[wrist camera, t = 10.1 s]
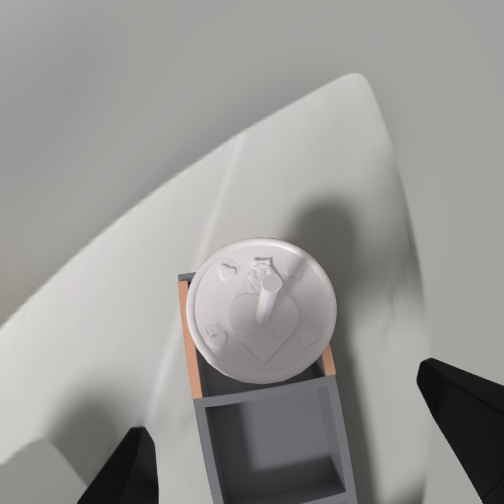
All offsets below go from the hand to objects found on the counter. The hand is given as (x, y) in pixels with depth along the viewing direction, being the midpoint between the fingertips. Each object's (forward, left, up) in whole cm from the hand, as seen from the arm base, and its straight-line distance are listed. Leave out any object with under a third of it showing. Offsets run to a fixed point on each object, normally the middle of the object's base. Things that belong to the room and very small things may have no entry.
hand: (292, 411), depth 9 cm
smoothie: (+4, 0, -13) cm, 13 cm away
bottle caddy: (-4, 0, -13) cm, 13 cm away
